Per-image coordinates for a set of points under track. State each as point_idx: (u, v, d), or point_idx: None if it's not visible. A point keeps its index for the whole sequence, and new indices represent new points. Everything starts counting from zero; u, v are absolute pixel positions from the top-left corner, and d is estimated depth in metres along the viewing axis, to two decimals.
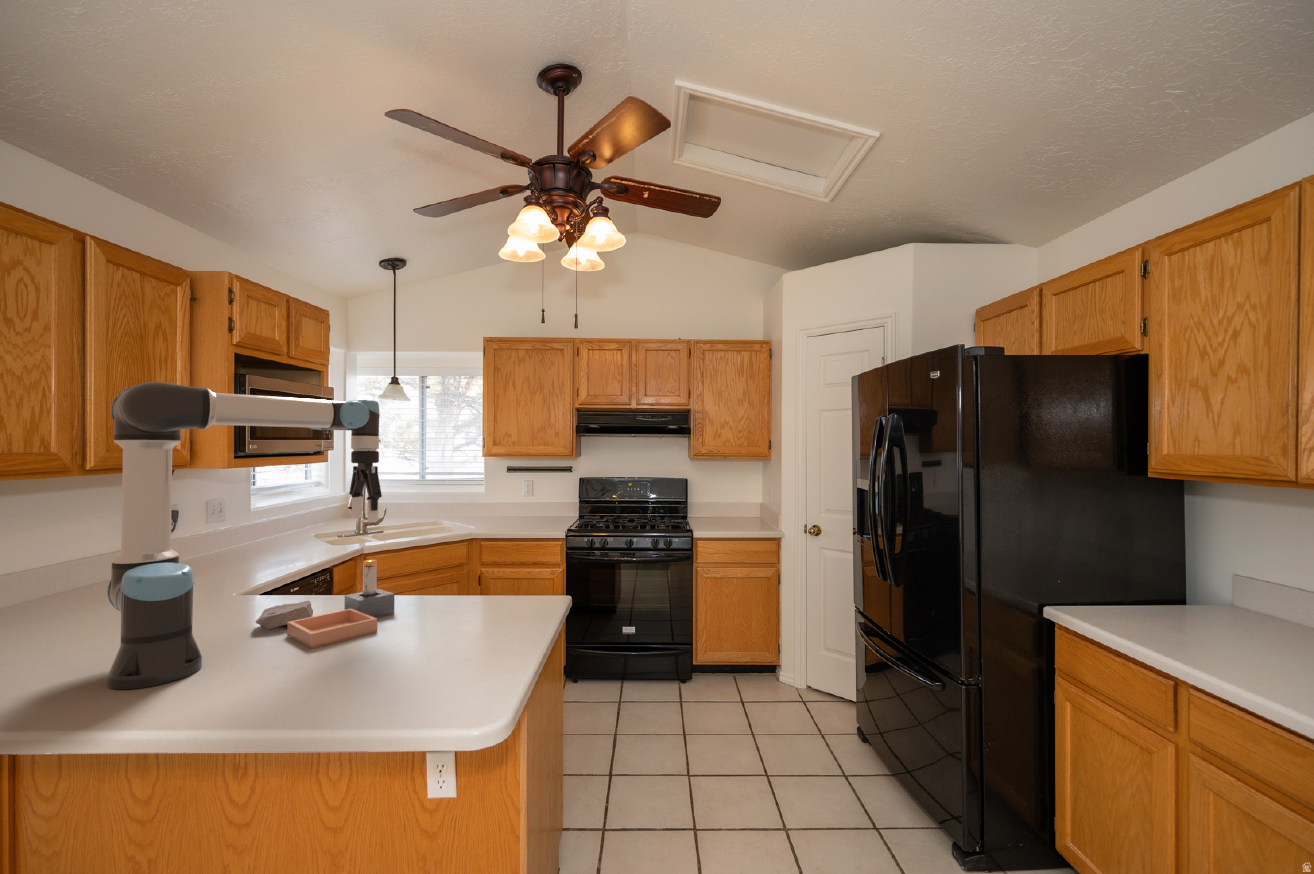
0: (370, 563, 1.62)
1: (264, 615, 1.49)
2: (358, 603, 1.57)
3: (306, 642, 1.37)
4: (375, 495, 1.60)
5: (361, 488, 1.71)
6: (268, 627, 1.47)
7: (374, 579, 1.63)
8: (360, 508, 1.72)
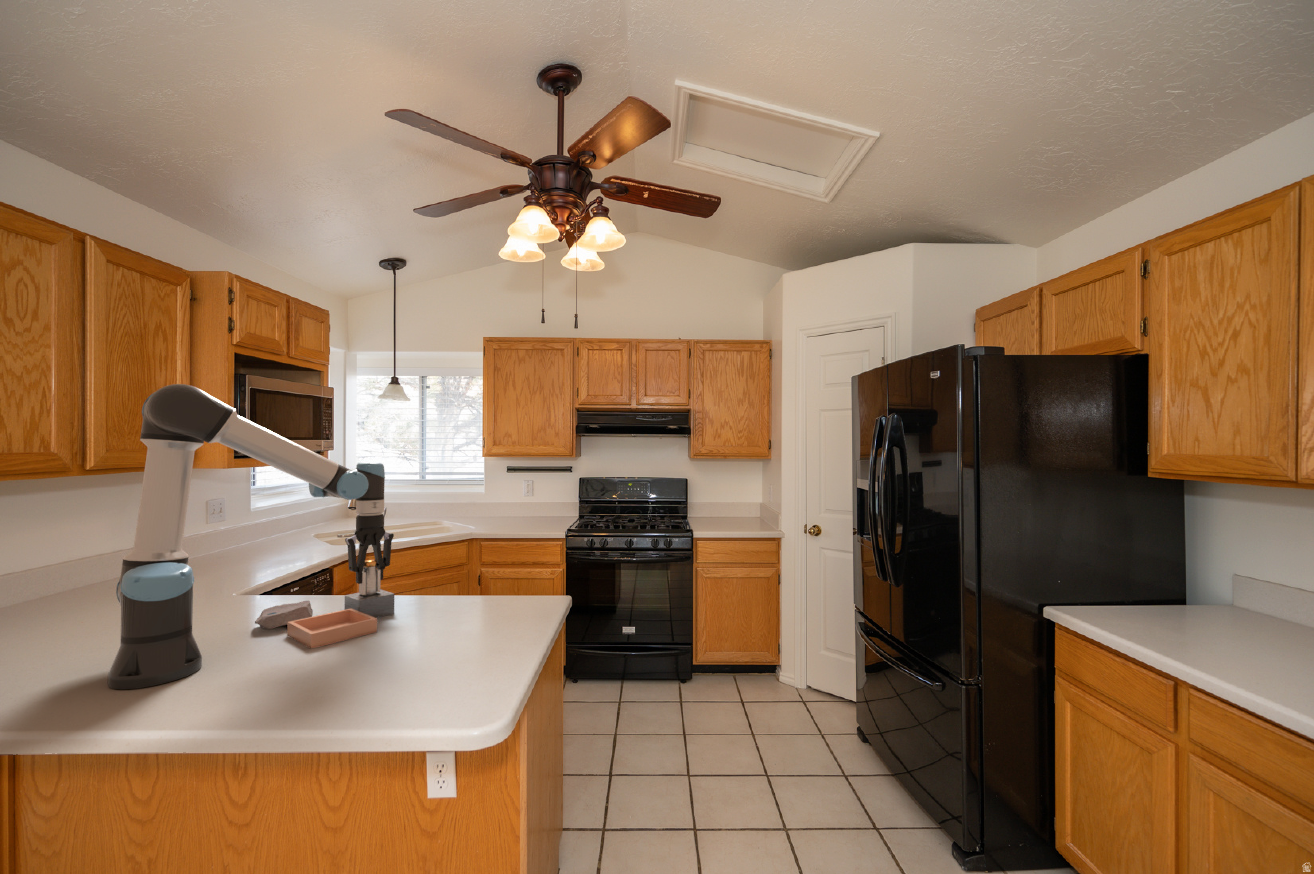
0: (370, 563, 1.62)
1: (264, 615, 1.49)
2: (358, 603, 1.57)
3: (306, 642, 1.37)
4: (350, 569, 1.60)
5: (377, 557, 1.65)
6: (269, 627, 1.47)
7: (374, 579, 1.63)
8: (377, 582, 1.65)
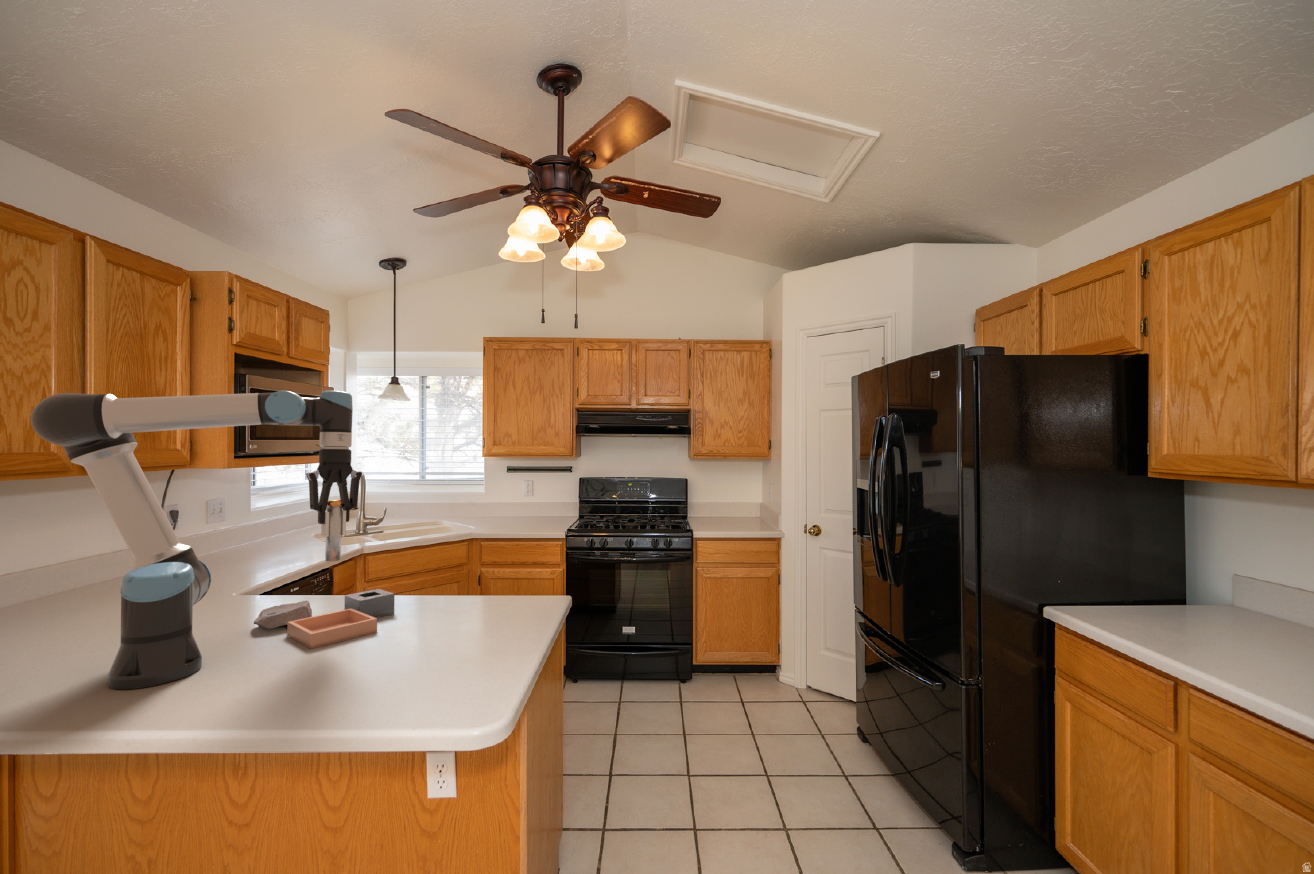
0: (334, 502, 1.46)
1: (264, 615, 1.49)
2: (358, 603, 1.57)
3: (306, 642, 1.37)
4: (311, 508, 1.44)
5: (342, 496, 1.49)
6: (269, 627, 1.47)
7: (339, 520, 1.47)
8: (342, 523, 1.49)
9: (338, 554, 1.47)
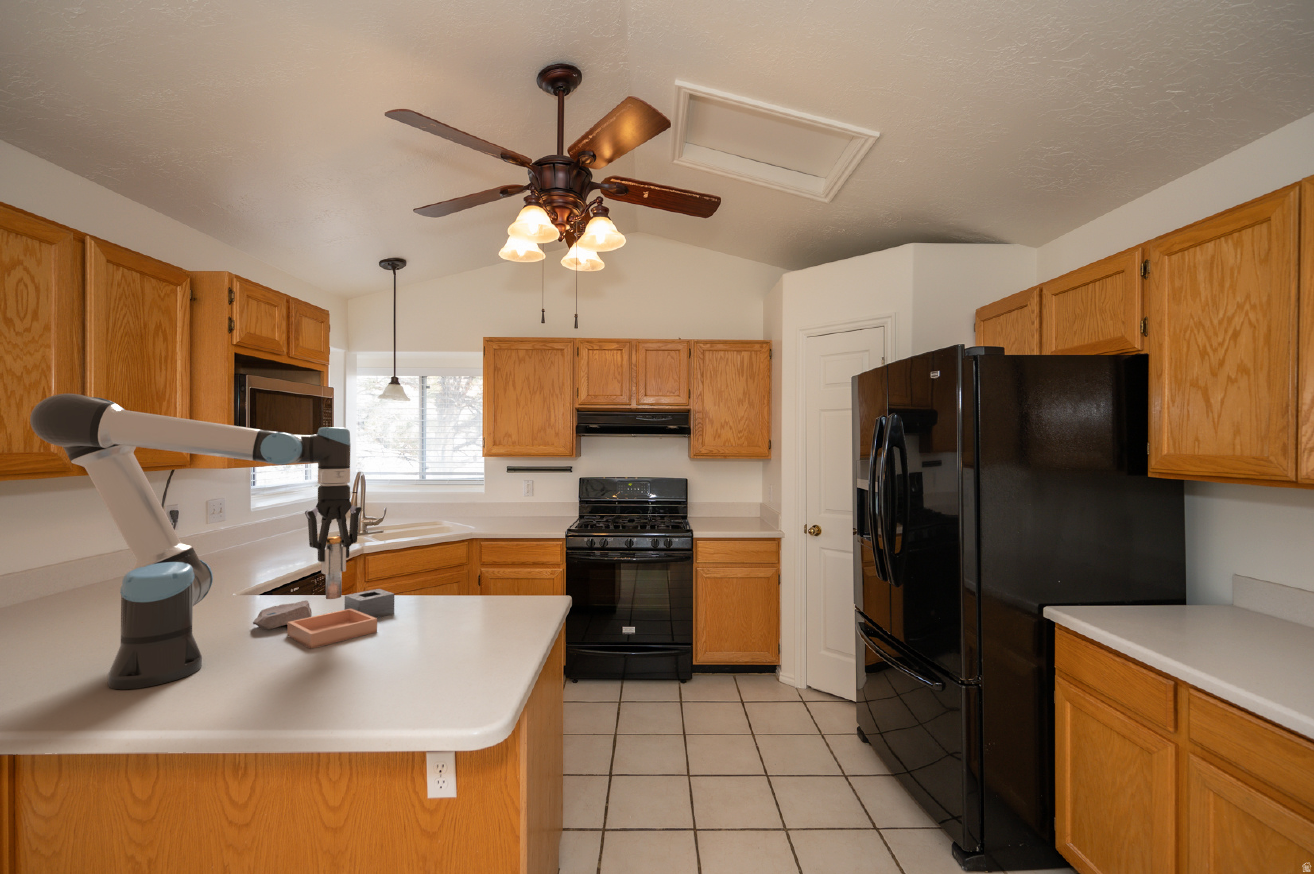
0: (334, 540, 1.46)
1: (264, 615, 1.49)
2: (358, 603, 1.57)
3: (306, 642, 1.37)
4: (311, 546, 1.43)
5: (342, 532, 1.48)
6: (269, 627, 1.47)
7: (339, 558, 1.46)
8: (342, 560, 1.48)
9: (338, 591, 1.46)
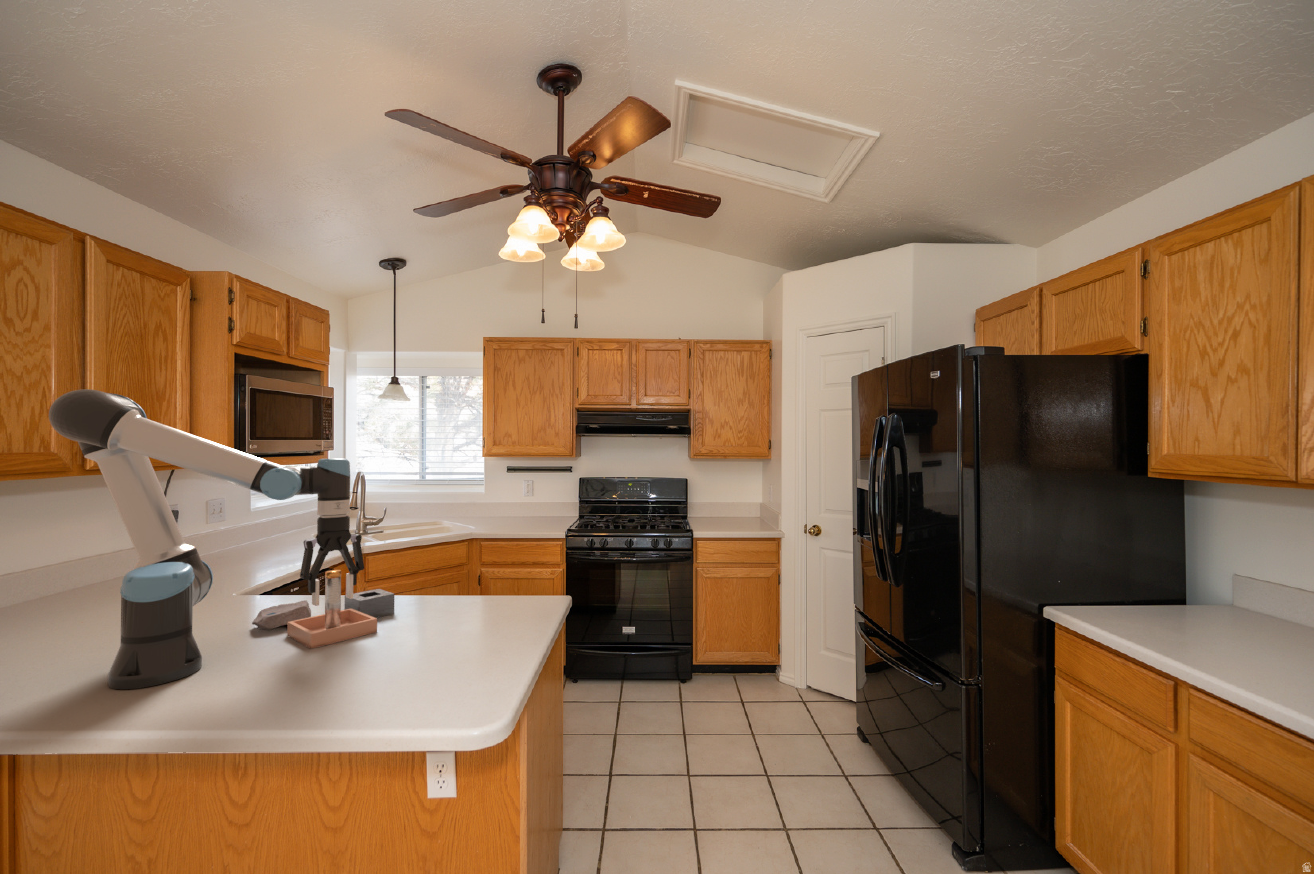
0: (333, 574, 1.45)
1: (264, 615, 1.49)
2: (358, 603, 1.57)
3: (306, 642, 1.37)
4: (301, 576, 1.41)
5: (347, 562, 1.49)
6: (270, 627, 1.47)
7: (338, 592, 1.46)
8: (349, 587, 1.49)
9: (337, 626, 1.46)
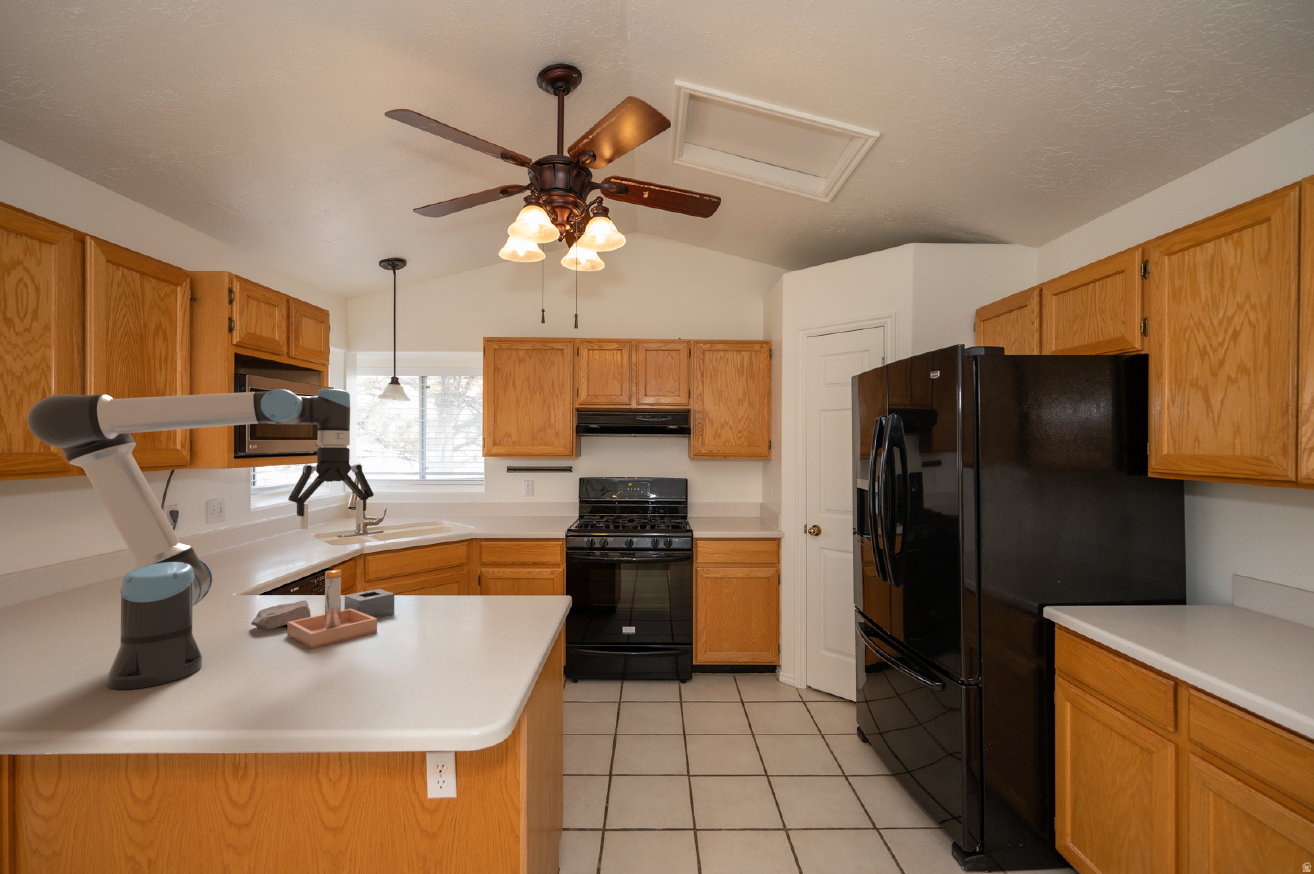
0: (333, 574, 1.45)
1: (264, 616, 1.48)
2: (358, 603, 1.57)
3: (306, 642, 1.37)
4: (289, 498, 1.40)
5: (354, 490, 1.51)
6: (270, 627, 1.47)
7: (338, 592, 1.46)
8: (359, 513, 1.52)
9: (337, 626, 1.46)
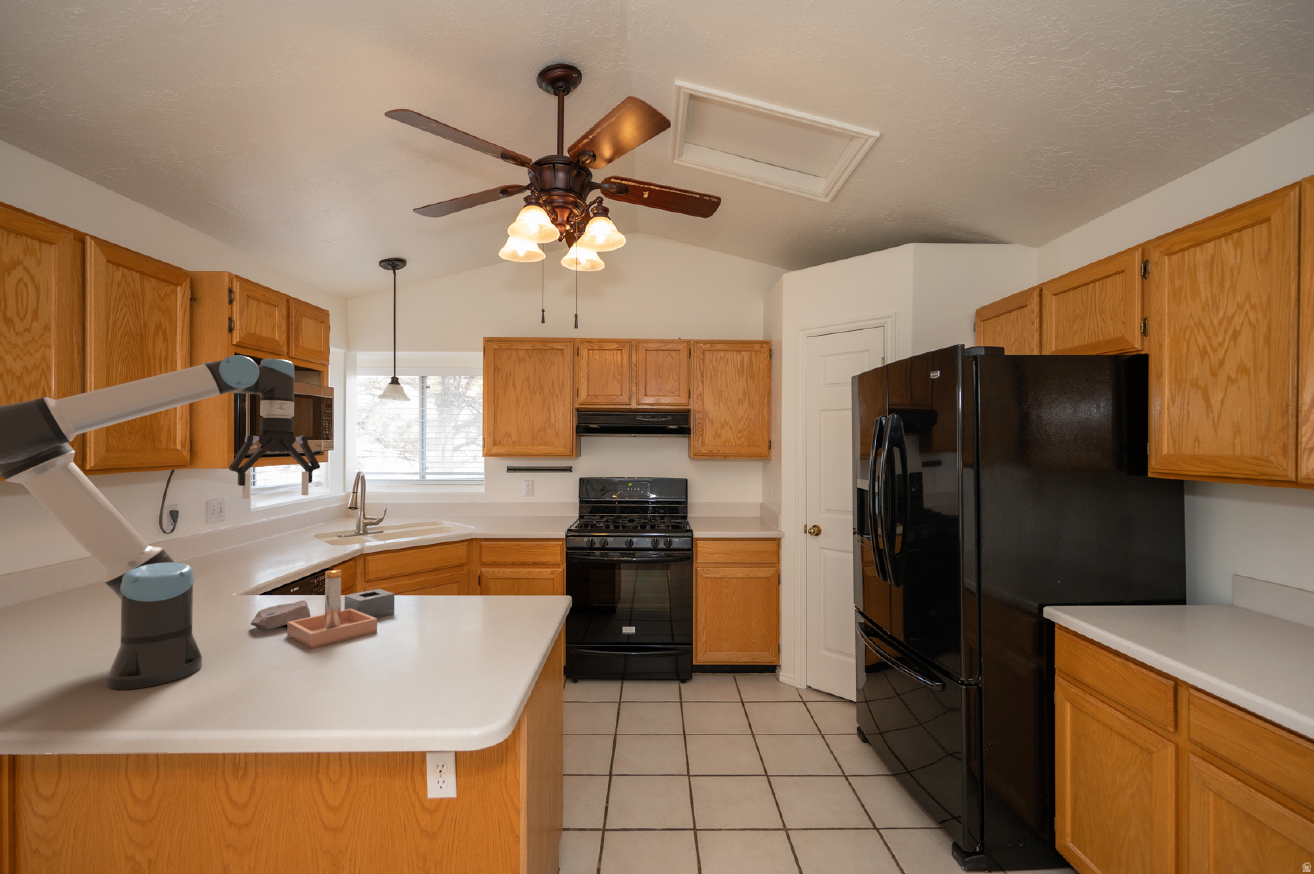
0: (333, 574, 1.45)
1: (264, 616, 1.48)
2: (358, 603, 1.57)
3: (306, 642, 1.37)
4: (230, 468, 1.39)
5: (299, 461, 1.50)
6: (270, 627, 1.47)
7: (338, 592, 1.46)
8: (304, 484, 1.51)
9: (337, 626, 1.46)
